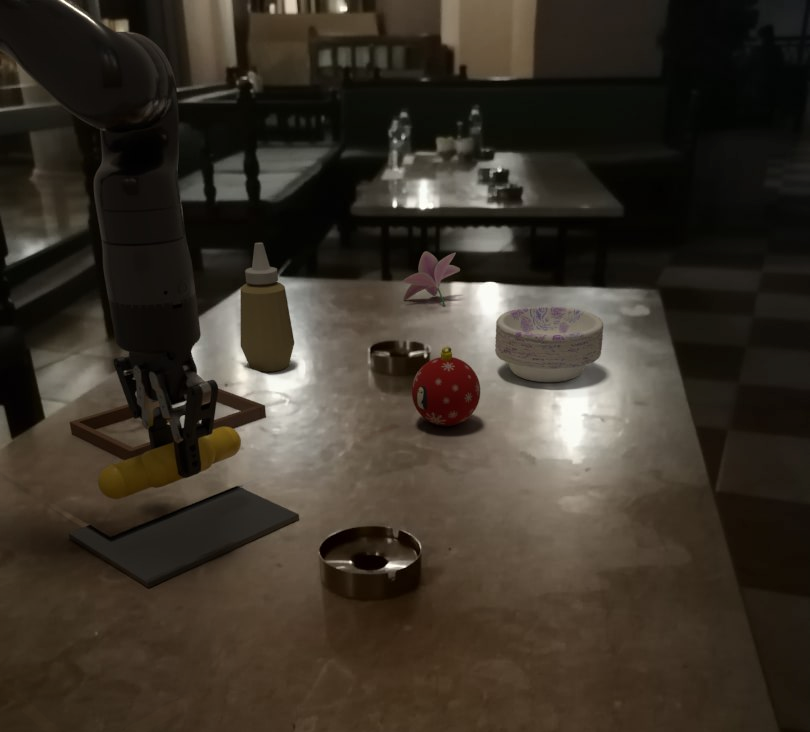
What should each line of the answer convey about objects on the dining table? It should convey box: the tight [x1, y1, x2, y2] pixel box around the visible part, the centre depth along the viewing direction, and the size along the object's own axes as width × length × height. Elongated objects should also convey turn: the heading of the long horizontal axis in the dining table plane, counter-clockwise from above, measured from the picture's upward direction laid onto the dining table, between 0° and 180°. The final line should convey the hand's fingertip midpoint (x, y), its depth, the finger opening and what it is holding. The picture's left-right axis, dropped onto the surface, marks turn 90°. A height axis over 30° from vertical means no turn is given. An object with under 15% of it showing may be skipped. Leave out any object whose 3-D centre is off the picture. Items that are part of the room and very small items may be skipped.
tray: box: [69, 387, 267, 461], centre depth 113 cm, size 20×14×2 cm
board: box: [68, 485, 300, 589], centre depth 91 cm, size 18×14×1 cm
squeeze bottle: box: [240, 242, 295, 372], centre depth 132 cm, size 8×8×18 cm
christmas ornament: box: [411, 346, 481, 427], centre depth 113 cm, size 9×9×10 cm
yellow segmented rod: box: [97, 427, 242, 500], centre depth 88 cm, size 16×4×4 cm, turn 137°
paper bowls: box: [494, 306, 604, 383], centre depth 131 cm, size 15×15×8 cm
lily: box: [402, 250, 461, 307], centre depth 167 cm, size 12×12×10 cm
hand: (177, 468), depth 88 cm, fingers closed on yellow segmented rod, 3 cm apart
